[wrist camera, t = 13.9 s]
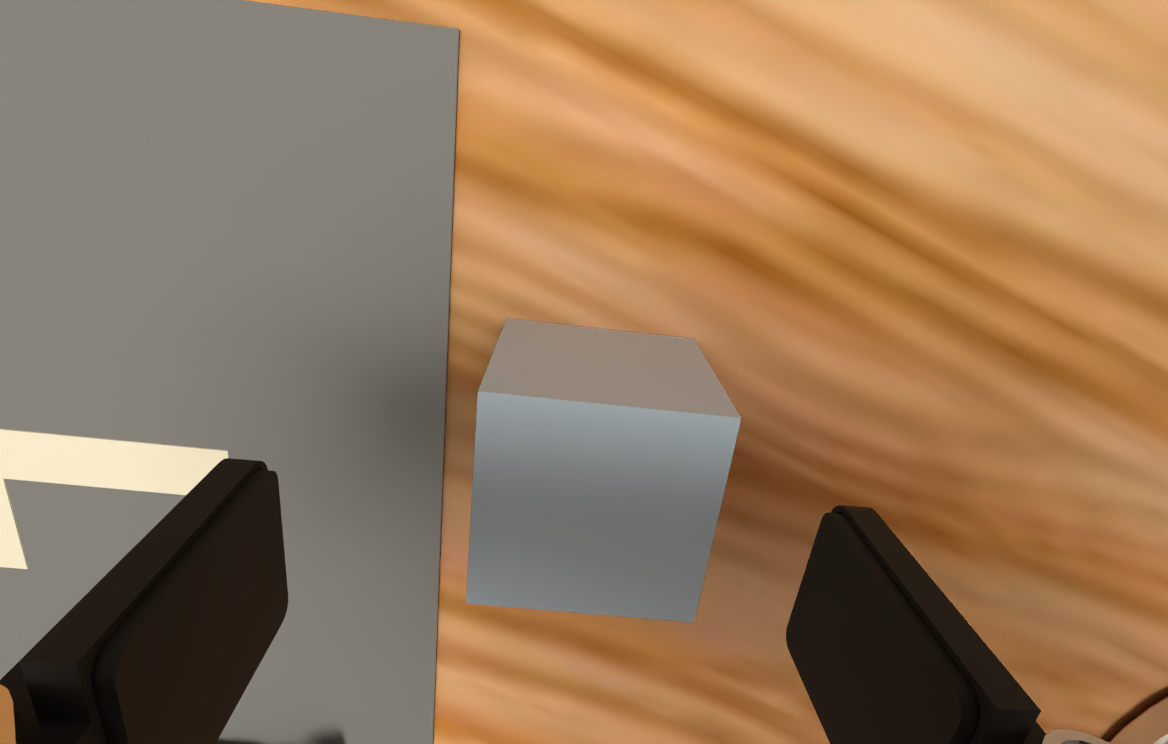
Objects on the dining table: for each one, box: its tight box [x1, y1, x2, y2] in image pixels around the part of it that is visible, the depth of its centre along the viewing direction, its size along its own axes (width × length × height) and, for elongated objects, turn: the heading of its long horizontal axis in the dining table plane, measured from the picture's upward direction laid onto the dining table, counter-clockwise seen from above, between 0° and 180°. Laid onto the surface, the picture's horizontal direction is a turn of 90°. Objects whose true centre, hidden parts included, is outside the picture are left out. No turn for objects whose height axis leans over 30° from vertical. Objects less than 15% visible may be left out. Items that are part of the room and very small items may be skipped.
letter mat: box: [0, 0, 460, 744], centre depth 17 cm, size 20×24×1 cm
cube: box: [466, 318, 741, 622], centre depth 14 cm, size 5×5×5 cm
